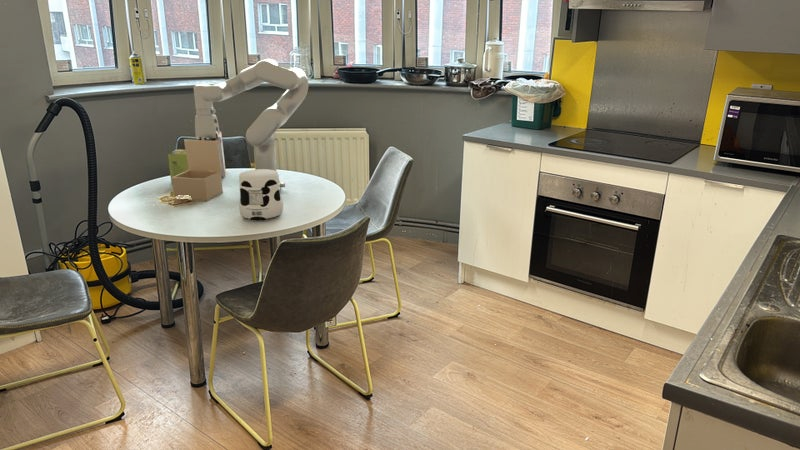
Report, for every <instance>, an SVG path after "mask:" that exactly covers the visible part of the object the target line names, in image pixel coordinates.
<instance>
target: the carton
mask: <svg viewBox="0 0 800 450" xmlns="http://www.w3.org/2000/svg"><path fill="white" fill-rule="evenodd" d="M222 181H223V180H222V177H221V172H220V171H201V170H187V171H185V172H183V173H181V174H178V175H176V176H174V177H172V184H173V185H172V184H171V185H172V189H173V190H172V191H173V197H174V196H178V195H189V196H191V198H192V200H191V201H192V202H193V201H196V202H209V201H211V200H212V199H214V198H216V197H218V196H219V195H221V194H223V193H224V191H223V182H222Z"/></svg>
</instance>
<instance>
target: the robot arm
mask: <svg viewBox="0 0 800 450" xmlns="http://www.w3.org/2000/svg"><path fill="white" fill-rule="evenodd" d="M264 83H267V84H269V85H271V86H275V87H277V88H281V89H284V90H286V91H285V92H284V93H282V95H281V96H280V97H279V98H278V100H277V101H276V102H275V103H274V104H273V105H271V106H269V107H267V108H266V109H264V110H263V111H262V112H261V113H260V114H259V115H258V116H257V118H256V119H255V120H254V121H253V122H252V124H251V125H250V126H249V127H248V128H247V130H246V132H245V138H246V139H245V140H246V142H247V143H248V144H249V145H250V146H252V147H253V157H254V170H257V169H268V170H275V171H277V162H276V160H277V159H276V132H277V130H278V129H279V128H281V127H282V126H283V125H285V124H286V123H287V121H288V120H289V119H290V117H291V116H292V115H293V114H294V113H295V111H297V109H298V108H299V107H300V105H302V103H303V102H304V100H305V99H306V97H307V94H308V91H309V79H308V76H307V74H306V73H305V72H304V70H303V69H301V68H299V67H291V68H286V67H282V66H279V64H278V62H277V61H276V60H275V59H271V58H266V59H262V60H259V61H258V62H257V63H255V64H253V65H251V66H249V67H247V68H244V69H242V70H240V71H239V73H238V74H236V75H235V76H232V77H231V78H229V79H227V80H224V81H222V82H218V83H216V84H209V83H197V84H195V85H193V95H194V102H195V103H194V105H195V114H196V115H195V116H194V131H195V132H194V133H195V136H194V137H195V140H206V139H208V140H209V141H216V140H218V139H220V136H219V135H220V132H221V130H220V126H219V120H218V117H217V115H216V113H217V110H216V109H215V108H214V104H213V103H215V102H216V103H217V102H218V103H219V102H222V101H225V100H229V99H230V98H232V97H235V96H237V95H239V94H240V93H241V94H242V93H243V92H245V91H249V90H251V89H254V88H256V87H258V86H260V85H262V84H264ZM215 136H216V137H215ZM214 137H215V138H214ZM279 184H280V190H282V188H286V182H281V181H279Z"/></svg>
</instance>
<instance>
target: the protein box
mask: <svg viewBox="0 0 800 450" xmlns="http://www.w3.org/2000/svg"><path fill="white" fill-rule="evenodd" d="M167 158H168V166H169V174H170V175H169V176H170V184H171V186H173V184H172V177H174V176H176V175H178V174H181V173H183V172H185V171H187V170H189V169H188V163H187V156H186V150H185V149H174V150H173V151H171V152H169V153H168V154H167ZM201 171H203V170H201Z"/></svg>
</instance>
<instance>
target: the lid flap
mask: <svg viewBox="0 0 800 450" xmlns="http://www.w3.org/2000/svg"><path fill="white" fill-rule="evenodd" d="M183 142H184V150H186V156H187V163H188V169H189V170H203V171H222V169H221V162H220V154H219V147H218V141H209V138H207V139H206V140H199V139H183Z"/></svg>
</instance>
